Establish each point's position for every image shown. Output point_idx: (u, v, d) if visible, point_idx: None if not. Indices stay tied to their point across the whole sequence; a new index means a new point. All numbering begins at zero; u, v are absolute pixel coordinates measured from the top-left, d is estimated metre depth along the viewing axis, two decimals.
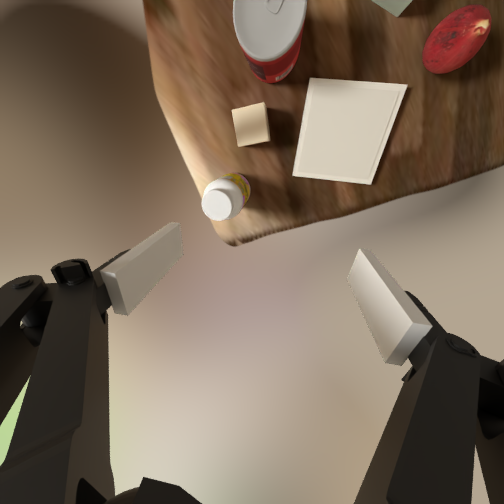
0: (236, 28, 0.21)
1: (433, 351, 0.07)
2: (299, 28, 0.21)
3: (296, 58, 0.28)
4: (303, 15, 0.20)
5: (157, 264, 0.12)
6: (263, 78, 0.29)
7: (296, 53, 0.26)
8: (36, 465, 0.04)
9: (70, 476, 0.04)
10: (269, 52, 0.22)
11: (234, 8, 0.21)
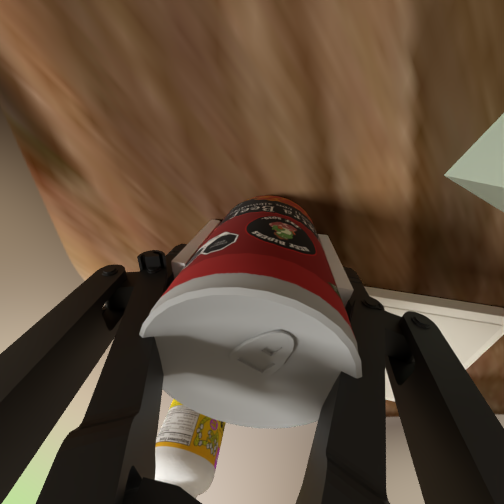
0: None
1: (353, 313, 0.08)
2: None
3: None
4: None
5: None
6: None
7: None
8: (102, 440, 0.04)
9: (124, 463, 0.04)
10: (248, 419, 0.08)
11: None
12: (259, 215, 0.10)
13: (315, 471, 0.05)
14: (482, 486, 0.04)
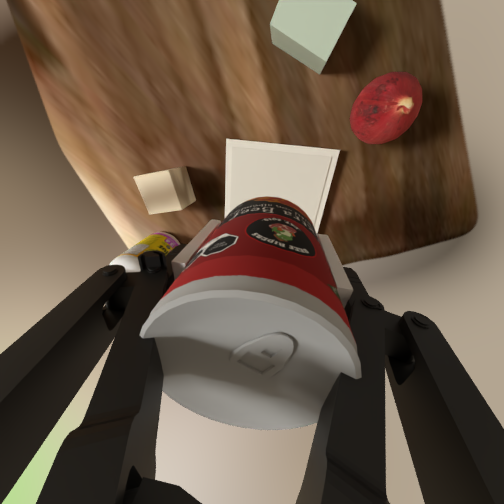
0: None
1: (352, 313, 0.08)
2: None
3: None
4: None
5: None
6: None
7: None
8: (102, 441, 0.04)
9: (124, 464, 0.04)
10: (248, 420, 0.09)
11: None
12: (258, 216, 0.10)
13: (315, 471, 0.05)
14: (481, 486, 0.04)
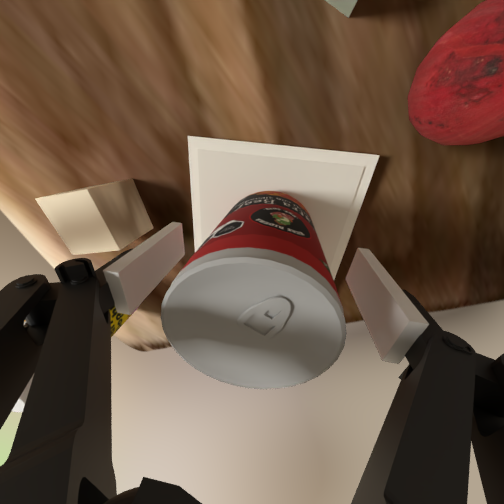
0: (174, 347, 0.09)
1: (429, 349, 0.07)
2: None
3: None
4: (334, 359, 0.08)
5: (159, 264, 0.12)
6: None
7: None
8: (39, 464, 0.04)
9: (72, 475, 0.04)
10: (252, 381, 0.10)
11: (164, 324, 0.09)
12: (261, 206, 0.11)
13: None
14: None
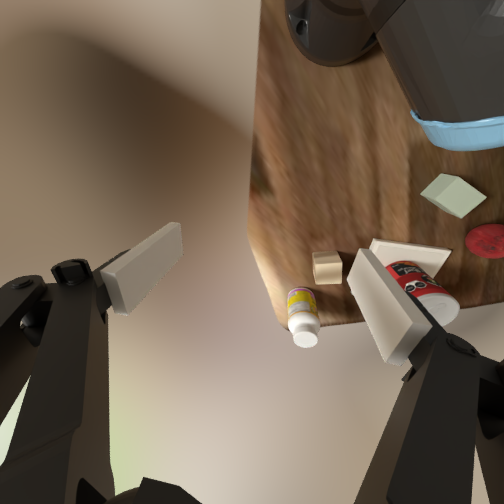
0: None
1: (433, 351, 0.07)
2: (448, 322, 0.33)
3: None
4: (453, 319, 0.32)
5: (157, 264, 0.12)
6: None
7: None
8: (36, 465, 0.04)
9: (70, 476, 0.04)
10: None
11: None
12: (419, 274, 0.35)
13: None
14: None
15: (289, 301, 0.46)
